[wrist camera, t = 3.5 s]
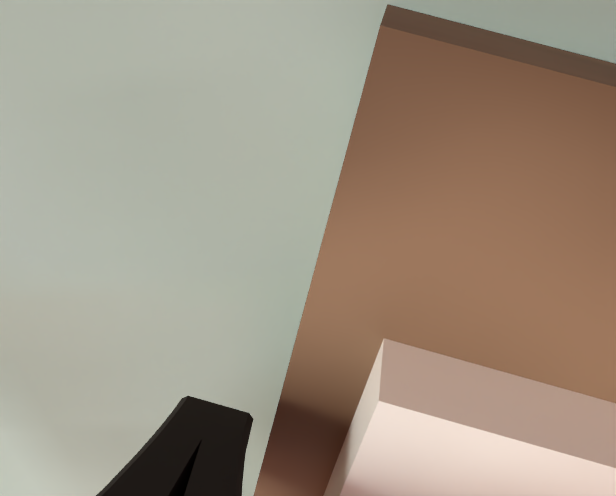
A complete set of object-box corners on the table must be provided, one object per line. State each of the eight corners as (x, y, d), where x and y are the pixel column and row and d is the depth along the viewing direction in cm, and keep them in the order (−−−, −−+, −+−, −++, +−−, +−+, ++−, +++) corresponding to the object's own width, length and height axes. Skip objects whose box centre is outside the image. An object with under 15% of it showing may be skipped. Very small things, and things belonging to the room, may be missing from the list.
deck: (617, 652, 17) (639, 733, 15) (241, 541, 17) (223, 608, 16) (1142, 201, 9) (1321, 272, 7) (387, 3, 9) (380, 25, 7)
